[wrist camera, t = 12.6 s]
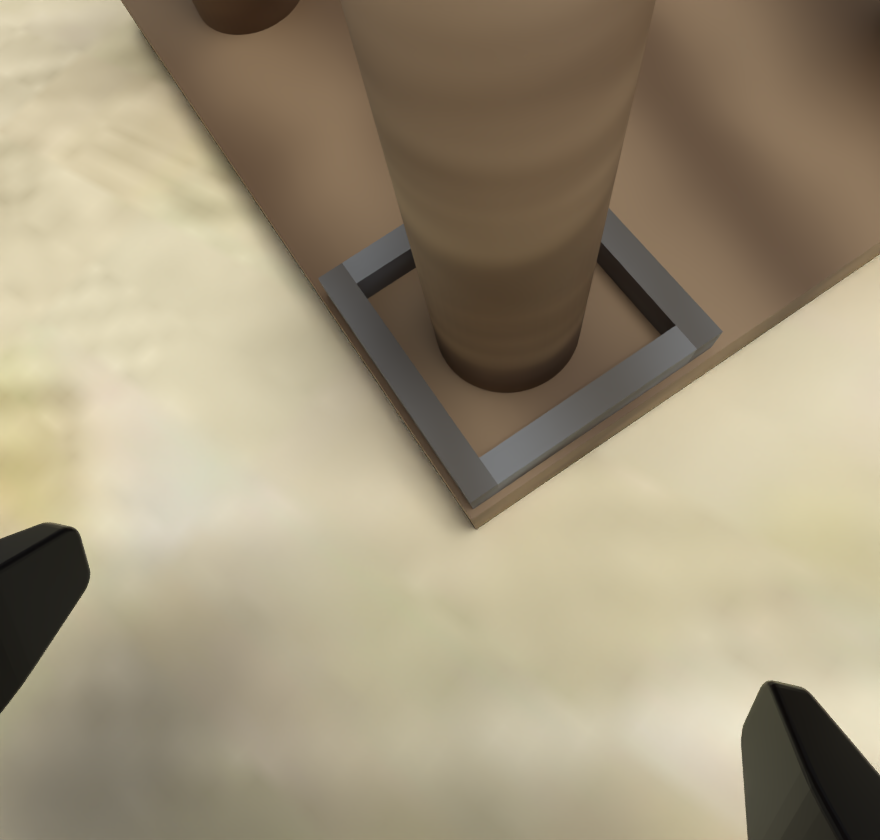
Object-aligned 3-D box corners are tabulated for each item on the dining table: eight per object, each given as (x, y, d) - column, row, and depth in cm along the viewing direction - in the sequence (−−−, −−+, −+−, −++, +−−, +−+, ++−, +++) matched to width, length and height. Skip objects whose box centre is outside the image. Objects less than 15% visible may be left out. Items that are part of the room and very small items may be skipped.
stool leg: (568, 403, 17) (722, -222, 4) (422, 379, 17) (186, -218, 5) (590, 270, 18) (763, -535, 5) (451, 253, 18) (320, -496, 6)
